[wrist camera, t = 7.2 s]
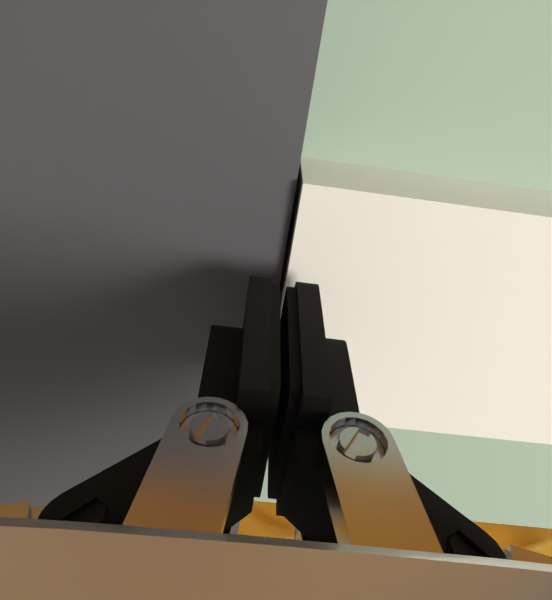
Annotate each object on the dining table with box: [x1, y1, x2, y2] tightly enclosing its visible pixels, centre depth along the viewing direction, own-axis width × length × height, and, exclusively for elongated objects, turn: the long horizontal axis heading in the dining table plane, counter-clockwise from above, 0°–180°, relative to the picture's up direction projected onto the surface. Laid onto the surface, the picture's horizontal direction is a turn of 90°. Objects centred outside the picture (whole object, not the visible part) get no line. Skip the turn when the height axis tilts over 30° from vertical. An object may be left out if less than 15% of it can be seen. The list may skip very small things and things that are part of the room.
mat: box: [254, 0, 552, 529], centre depth 16 cm, size 20×14×1 cm
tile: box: [279, 156, 552, 445], centre depth 14 cm, size 7×9×2 cm
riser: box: [0, 0, 328, 535], centre depth 14 cm, size 20×12×2 cm, turn 172°
